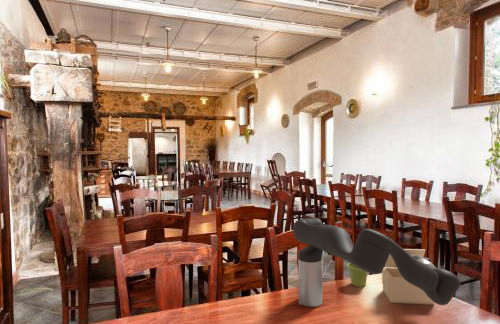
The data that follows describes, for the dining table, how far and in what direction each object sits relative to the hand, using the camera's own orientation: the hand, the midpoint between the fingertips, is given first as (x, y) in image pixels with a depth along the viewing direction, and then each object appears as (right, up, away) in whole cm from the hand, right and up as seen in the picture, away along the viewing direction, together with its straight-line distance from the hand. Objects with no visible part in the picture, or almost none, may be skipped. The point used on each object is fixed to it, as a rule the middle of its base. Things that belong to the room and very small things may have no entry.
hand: (406, 255), depth 140 cm
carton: (0, -17, 0) cm, 17 cm away
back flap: (+1, -6, +5) cm, 8 cm away
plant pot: (-15, -17, +14) cm, 27 cm away
